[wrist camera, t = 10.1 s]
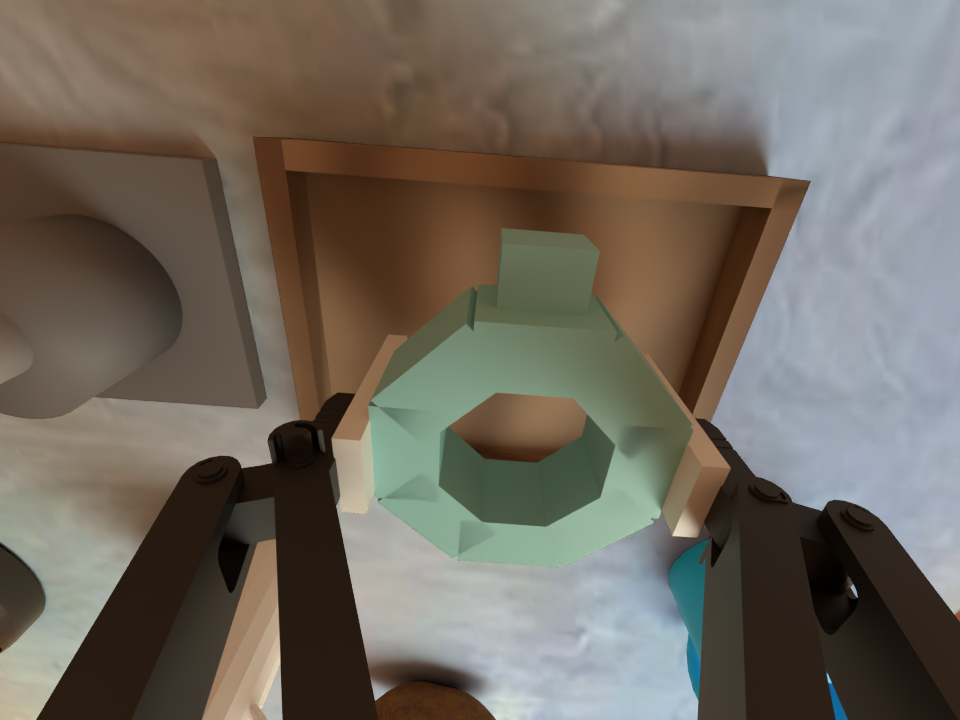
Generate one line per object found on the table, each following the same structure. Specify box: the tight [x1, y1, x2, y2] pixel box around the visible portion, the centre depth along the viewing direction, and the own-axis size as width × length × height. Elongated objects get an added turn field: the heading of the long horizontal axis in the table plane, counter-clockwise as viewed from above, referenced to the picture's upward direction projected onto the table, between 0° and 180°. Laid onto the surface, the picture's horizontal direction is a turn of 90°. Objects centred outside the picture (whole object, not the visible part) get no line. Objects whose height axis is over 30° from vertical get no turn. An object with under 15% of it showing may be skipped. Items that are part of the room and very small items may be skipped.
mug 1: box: [202, 539, 280, 720], centre depth 25 cm, size 12×8×10 cm, turn 88°
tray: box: [253, 137, 811, 463], centre depth 19 cm, size 20×16×2 cm
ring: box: [368, 228, 693, 568], centre depth 13 cm, size 9×11×3 cm
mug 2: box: [669, 539, 848, 720], centre depth 26 cm, size 12×8×8 cm
